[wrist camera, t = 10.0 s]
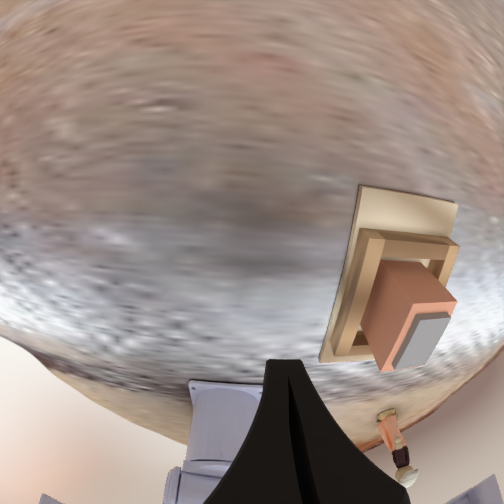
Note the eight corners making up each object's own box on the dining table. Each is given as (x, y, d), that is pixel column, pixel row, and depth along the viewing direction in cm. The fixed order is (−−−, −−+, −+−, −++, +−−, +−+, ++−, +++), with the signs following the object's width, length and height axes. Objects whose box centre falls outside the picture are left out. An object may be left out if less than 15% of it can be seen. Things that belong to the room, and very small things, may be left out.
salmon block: (398, 321, 21) (425, 370, 16) (359, 323, 21) (382, 378, 15) (420, 262, 18) (461, 306, 13) (379, 259, 18) (417, 309, 13)
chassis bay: (398, 352, 24) (406, 368, 22) (318, 358, 24) (322, 377, 21) (454, 202, 17) (471, 212, 15) (359, 184, 17) (373, 193, 14)
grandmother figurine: (367, 416, 30) (386, 492, 18) (391, 403, 29) (416, 480, 17) (384, 427, 32) (401, 492, 21) (405, 416, 31) (426, 480, 20)
